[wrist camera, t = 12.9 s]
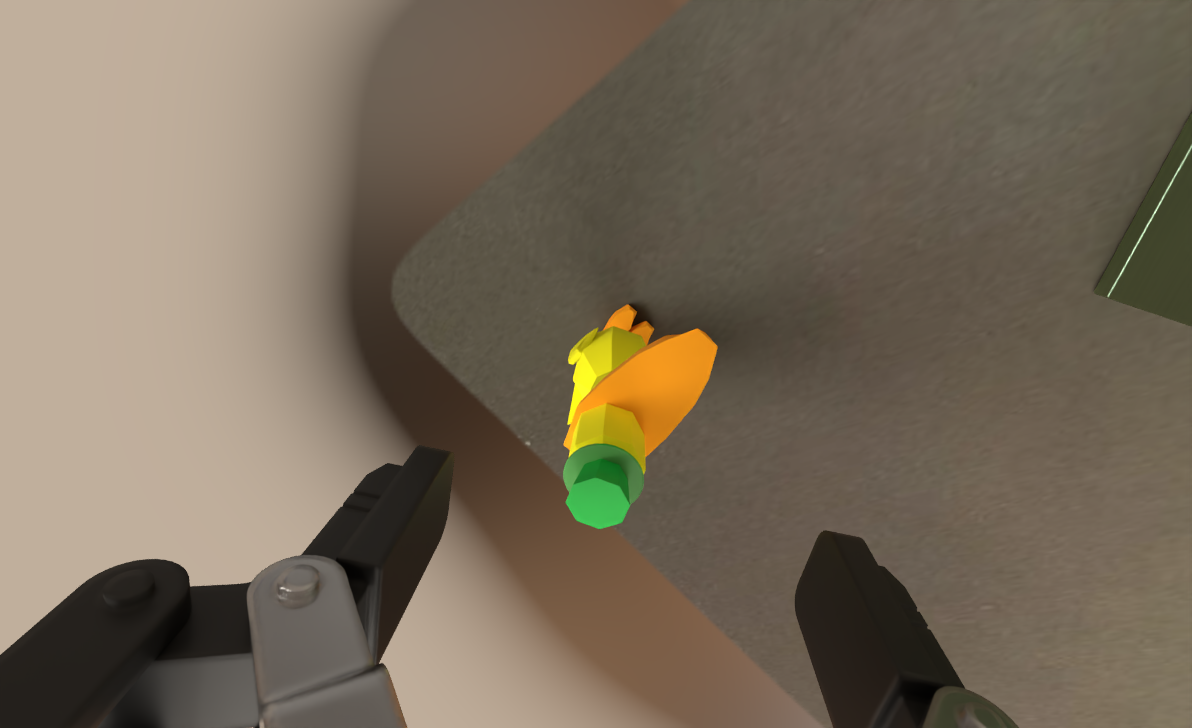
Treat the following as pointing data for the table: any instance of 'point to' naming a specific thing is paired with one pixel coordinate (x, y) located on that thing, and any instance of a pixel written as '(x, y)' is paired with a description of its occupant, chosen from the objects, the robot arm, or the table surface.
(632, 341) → the toy figure
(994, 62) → the table surface
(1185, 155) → the bin
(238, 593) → the robot arm
